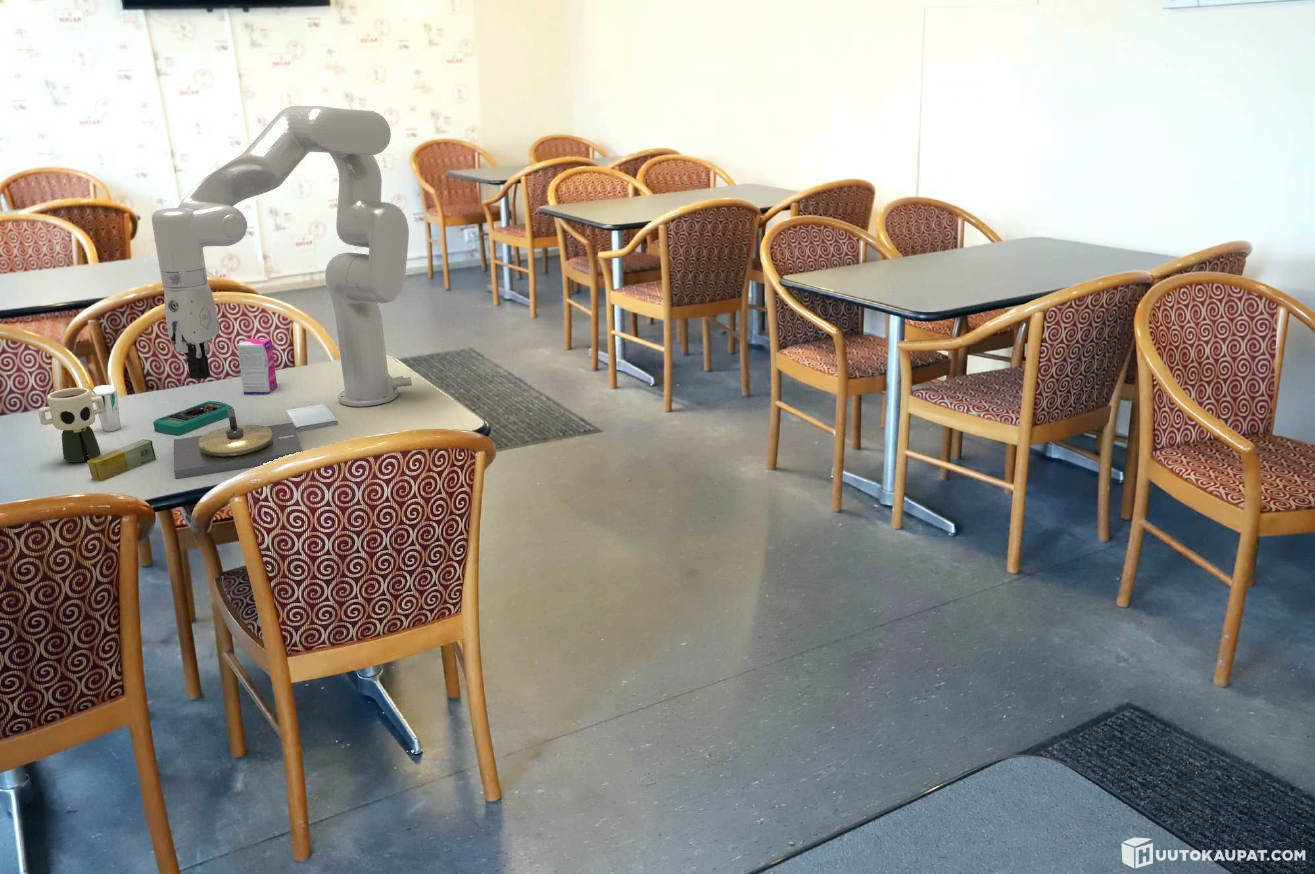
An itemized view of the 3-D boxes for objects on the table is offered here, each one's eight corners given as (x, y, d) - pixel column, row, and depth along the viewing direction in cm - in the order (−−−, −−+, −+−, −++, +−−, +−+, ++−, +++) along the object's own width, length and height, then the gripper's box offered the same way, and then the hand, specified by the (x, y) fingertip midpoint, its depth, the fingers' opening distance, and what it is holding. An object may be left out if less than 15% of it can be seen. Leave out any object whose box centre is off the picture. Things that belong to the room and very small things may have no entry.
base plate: (293, 429, 213) (292, 421, 212) (303, 458, 197) (302, 450, 197) (175, 446, 205) (173, 438, 204) (175, 478, 189) (173, 469, 189)
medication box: (147, 458, 200) (143, 438, 199) (157, 460, 199) (153, 439, 198) (91, 480, 190) (86, 460, 189) (101, 482, 189) (96, 461, 188)
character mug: (55, 471, 194) (39, 404, 190) (46, 461, 199) (30, 395, 195) (119, 456, 201) (105, 391, 196) (108, 446, 206) (95, 382, 201)
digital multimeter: (237, 416, 223) (235, 402, 222) (178, 438, 211) (175, 424, 210) (212, 411, 226) (210, 398, 225) (153, 433, 214) (150, 419, 213)
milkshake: (91, 433, 214) (80, 385, 210) (112, 424, 218) (102, 378, 215) (108, 435, 212) (98, 387, 209) (129, 426, 217) (119, 379, 213)
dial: (269, 428, 209) (266, 404, 207) (275, 449, 197) (271, 423, 196) (198, 438, 204) (194, 413, 202) (200, 460, 193) (195, 434, 191)
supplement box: (269, 394, 236) (261, 344, 232) (243, 394, 236) (235, 345, 232) (278, 386, 241) (271, 337, 237) (252, 387, 241) (245, 338, 237)
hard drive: (337, 419, 215) (324, 402, 225) (296, 427, 211) (284, 409, 222) (338, 427, 216) (325, 410, 226) (297, 434, 212) (285, 416, 222)
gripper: (182, 287, 183) (198, 389, 189) (225, 271, 197) (239, 367, 203) (141, 287, 184) (158, 388, 190) (186, 271, 198) (201, 366, 204)
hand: (200, 377), depth 196 cm, fingers closed
